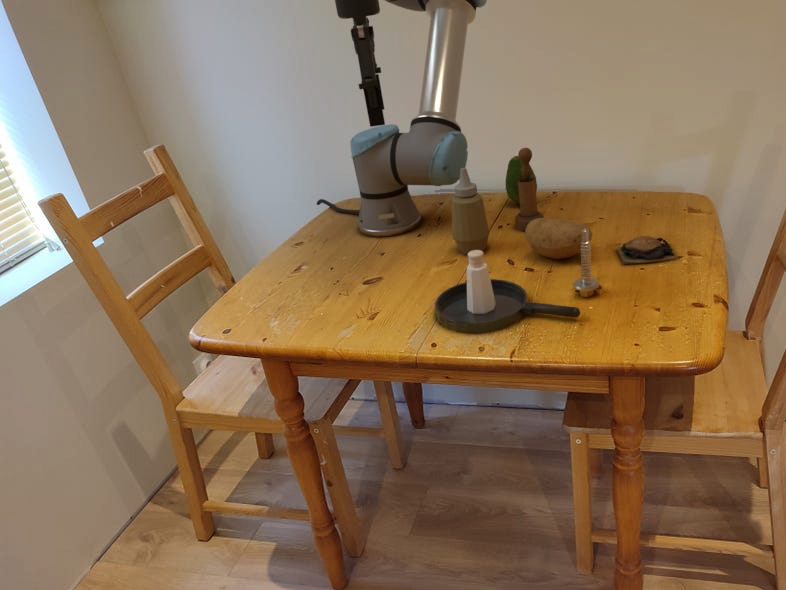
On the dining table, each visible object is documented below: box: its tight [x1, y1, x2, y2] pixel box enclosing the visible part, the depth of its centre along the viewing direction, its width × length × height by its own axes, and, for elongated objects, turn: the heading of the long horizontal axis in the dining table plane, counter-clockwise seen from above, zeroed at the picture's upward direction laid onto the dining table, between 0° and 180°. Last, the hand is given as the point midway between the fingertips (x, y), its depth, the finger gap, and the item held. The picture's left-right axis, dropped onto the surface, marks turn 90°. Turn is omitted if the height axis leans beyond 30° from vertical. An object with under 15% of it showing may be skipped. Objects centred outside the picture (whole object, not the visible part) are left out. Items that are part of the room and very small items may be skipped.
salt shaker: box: [466, 250, 496, 314], centre depth 117 cm, size 5×5×11 cm
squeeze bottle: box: [451, 167, 490, 255], centre depth 139 cm, size 8×8×18 cm
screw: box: [572, 228, 600, 298], centre depth 118 cm, size 13×5×5 cm
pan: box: [434, 278, 529, 334], centre depth 120 cm, size 17×17×2 cm
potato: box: [524, 217, 593, 260], centre depth 134 cm, size 10×14×8 cm
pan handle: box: [522, 301, 581, 319], centre depth 115 cm, size 11×2×2 cm, turn 66°
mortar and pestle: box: [514, 147, 544, 232], centre depth 148 cm, size 7×6×18 cm
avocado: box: [505, 155, 538, 205], centre depth 162 cm, size 8×8×12 cm
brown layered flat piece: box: [616, 235, 676, 265], centre depth 132 cm, size 11×8×4 cm
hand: (377, 117), depth 125 cm, fingers open, 13 cm apart
